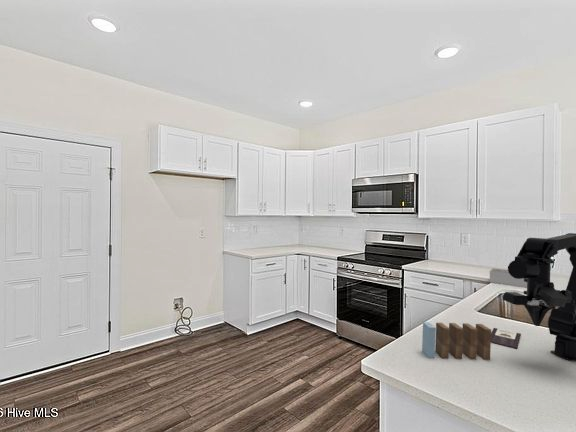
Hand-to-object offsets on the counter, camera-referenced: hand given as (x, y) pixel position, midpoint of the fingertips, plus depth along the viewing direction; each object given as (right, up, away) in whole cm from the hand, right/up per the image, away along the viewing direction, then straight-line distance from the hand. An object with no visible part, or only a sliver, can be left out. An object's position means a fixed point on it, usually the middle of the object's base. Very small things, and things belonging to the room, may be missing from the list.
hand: (536, 325), depth 100 cm
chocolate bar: (+4, -13, +20) cm, 24 cm away
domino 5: (-15, -12, +4) cm, 19 cm away
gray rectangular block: (+79, -13, +119) cm, 144 cm away
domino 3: (-24, -11, +4) cm, 27 cm away
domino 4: (-20, -12, +4) cm, 23 cm away
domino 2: (-29, -11, +4) cm, 31 cm away
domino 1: (-33, -11, +4) cm, 35 cm away
